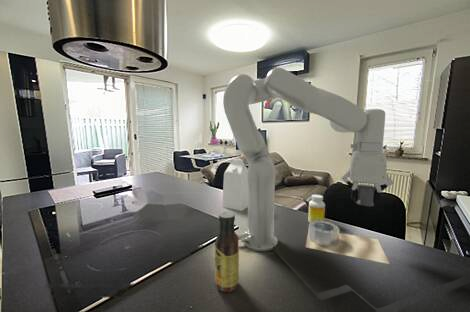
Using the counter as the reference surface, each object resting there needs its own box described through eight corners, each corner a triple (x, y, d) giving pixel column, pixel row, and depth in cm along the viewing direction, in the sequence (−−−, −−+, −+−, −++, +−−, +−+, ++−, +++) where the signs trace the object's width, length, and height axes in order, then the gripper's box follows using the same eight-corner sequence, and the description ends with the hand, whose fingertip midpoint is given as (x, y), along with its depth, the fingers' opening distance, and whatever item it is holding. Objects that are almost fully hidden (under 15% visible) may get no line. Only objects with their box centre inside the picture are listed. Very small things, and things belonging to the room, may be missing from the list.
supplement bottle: (325, 228, 89) (327, 198, 88) (309, 226, 90) (310, 197, 89) (322, 221, 96) (323, 194, 94) (307, 220, 97) (308, 193, 96)
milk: (251, 204, 119) (251, 158, 116) (241, 211, 109) (241, 161, 106) (233, 200, 125) (233, 157, 122) (222, 206, 115) (221, 159, 112)
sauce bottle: (215, 277, 59) (214, 209, 57) (237, 276, 59) (237, 208, 57) (215, 295, 52) (214, 219, 50) (240, 293, 53) (240, 218, 51)
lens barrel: (321, 249, 71) (322, 234, 71) (303, 235, 80) (303, 222, 80) (344, 243, 74) (345, 230, 74) (324, 231, 84) (324, 219, 83)
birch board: (305, 250, 72) (305, 247, 72) (308, 230, 87) (308, 227, 87) (389, 267, 63) (389, 264, 63) (377, 242, 78) (377, 239, 77)
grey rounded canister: (365, 207, 68) (367, 188, 67) (352, 202, 72) (353, 184, 72) (377, 205, 69) (379, 187, 69) (363, 200, 74) (364, 183, 73)
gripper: (340, 148, 69) (337, 201, 71) (404, 149, 62) (399, 209, 64) (339, 146, 76) (336, 195, 78) (397, 148, 69) (392, 202, 71)
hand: (364, 201), depth 71 cm, fingers closed on grey rounded canister, 5 cm apart
